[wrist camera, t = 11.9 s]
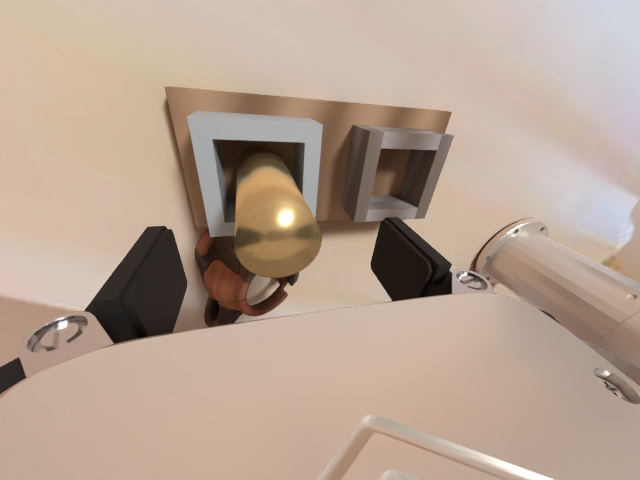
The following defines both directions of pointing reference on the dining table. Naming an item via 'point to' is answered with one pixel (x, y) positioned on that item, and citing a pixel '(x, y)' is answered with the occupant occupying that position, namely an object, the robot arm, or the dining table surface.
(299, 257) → the brass cylinder
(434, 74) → the dining table surface
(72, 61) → the dining table surface
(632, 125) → the dining table surface
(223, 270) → the pottery mug
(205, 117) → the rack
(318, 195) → the tool board
